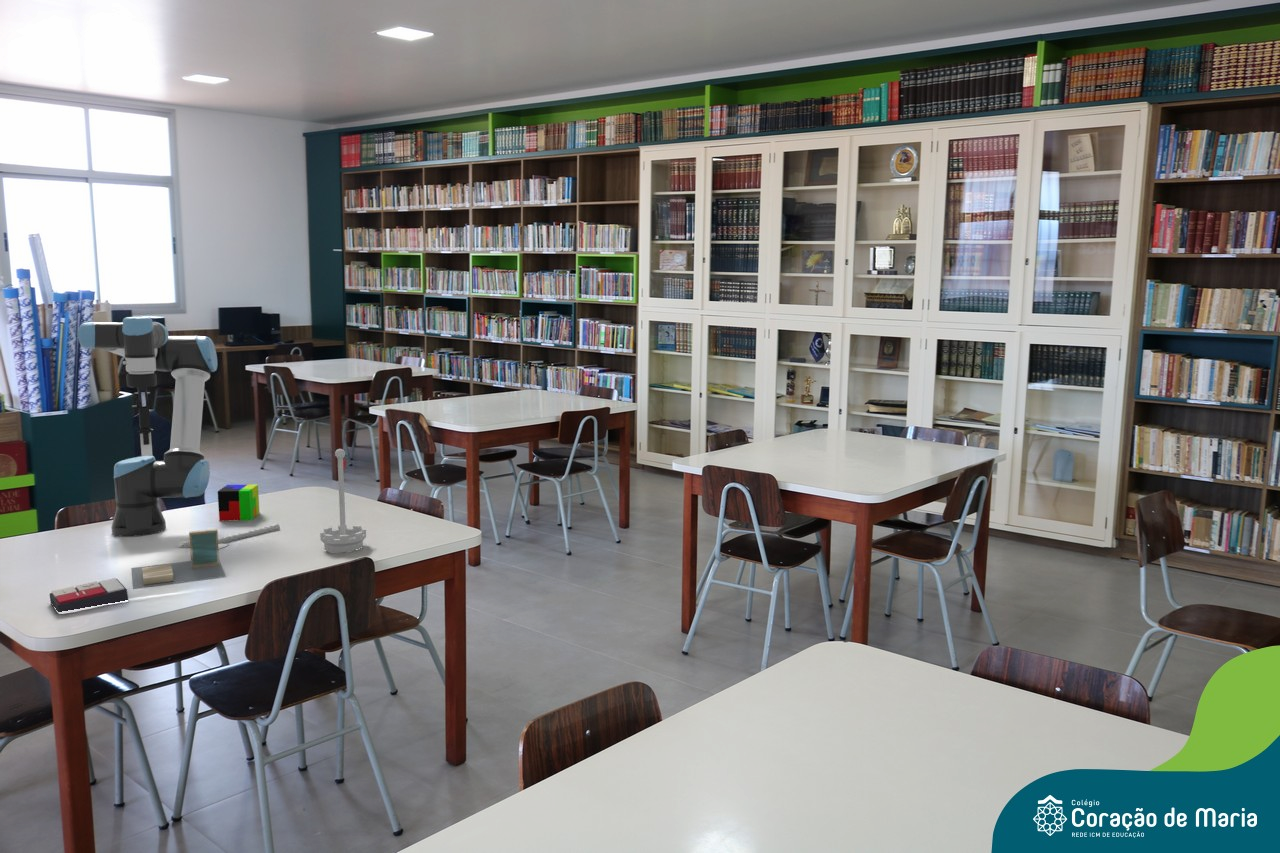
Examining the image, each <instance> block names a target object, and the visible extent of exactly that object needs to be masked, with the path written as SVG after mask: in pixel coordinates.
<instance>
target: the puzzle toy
mask: <svg viewBox="0 0 1280 853" xmlns="http://www.w3.org/2000/svg"><path fill="white" fill-rule="evenodd" d="M259 495H260V494H259V484H257V483H256V484H226V485H225V486H223V487H222V488H220V489H219V490H218V491H217V504H218V520H219V522H223V521H222V520H224V522H225V521H228V522H229V520H238V521H252V520H253V519H254V518H255V517H257V515H259V514H260V499H259V498H260V497H259Z"/></svg>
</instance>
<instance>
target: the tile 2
mask: <svg viewBox="0 0 1280 853" xmlns="http://www.w3.org/2000/svg"><path fill="white" fill-rule="evenodd" d="M188 533H189V534H188V536H189V537H188V538H189V541H190V547H189V550H190V552H189V553H190V561H191V568H200V567H208V566H216V565H219V560H220V551H219V550H220V549H219V548H218V539H219V535H218V528H209V529H201V530H191V531H188Z"/></svg>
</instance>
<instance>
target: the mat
mask: <svg viewBox="0 0 1280 853" xmlns="http://www.w3.org/2000/svg"><path fill="white" fill-rule="evenodd" d="M169 564H171V566H172V571H173V578H174V581H170V582H162V583H154V584H147V585H144V584H143V575H142V568H144V567H153V566H161V565H169ZM130 570H131V581H132V582H131V583H132V590H138V589H145V588H152V587H160V586H169V585H175V584H184V583H192V582H198V581H206V580H207V581H208V580H214V579H215V580H216V579H222V578H226V577H227V576H226V573H225V570H224V568H223V565H222V563H221V560H220V559H219V565H216V566H208V567H200V568H191V560H187V561H179V562H171V563H170V562H169V563H162V564H153V565H145V566H144V565H143V566H137V567H131V569H130Z"/></svg>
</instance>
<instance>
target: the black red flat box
mask: <svg viewBox="0 0 1280 853" xmlns="http://www.w3.org/2000/svg"><path fill="white" fill-rule="evenodd" d="M49 599H50V604H51V603H52V604H53V606H54V607H55V608H56V610H57V611H58V612H62V611H68V610H74V609H80V608H85V607H91V606H97V605H102V604H108V603H115V602H120V601H125V600H128V601H129V595H128V589H127V587H125V585H123V583H121V581H120V580H119V579H118V578H114V577H113V578H109V579H105V580H100V581H99V582H98V580H97V581H92V582H88V583H87V582H86V583H82V584H79V585H76V586H75V587H74V586H70V587H64V588H60V589H56V590H52V591H51V593H49ZM53 606H52V607H53ZM54 607H53V608H54ZM56 610H55V611H56Z"/></svg>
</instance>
